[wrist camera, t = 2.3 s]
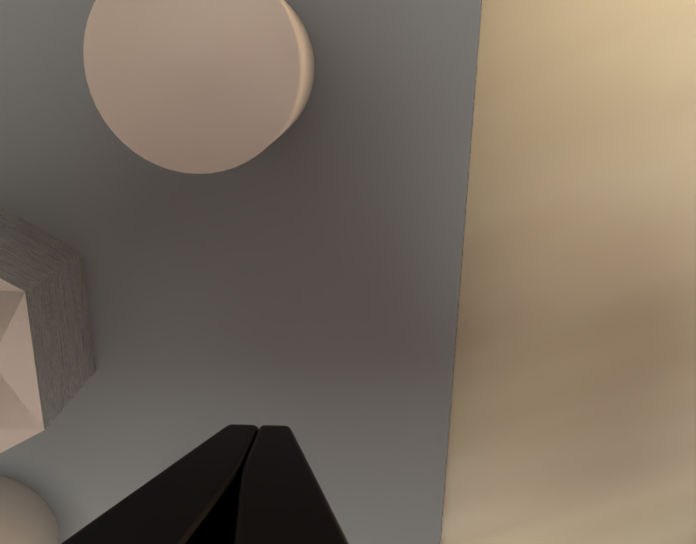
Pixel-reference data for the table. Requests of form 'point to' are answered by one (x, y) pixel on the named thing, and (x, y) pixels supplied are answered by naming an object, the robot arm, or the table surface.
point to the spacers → (183, 114)
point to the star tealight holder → (40, 328)
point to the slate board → (259, 266)
